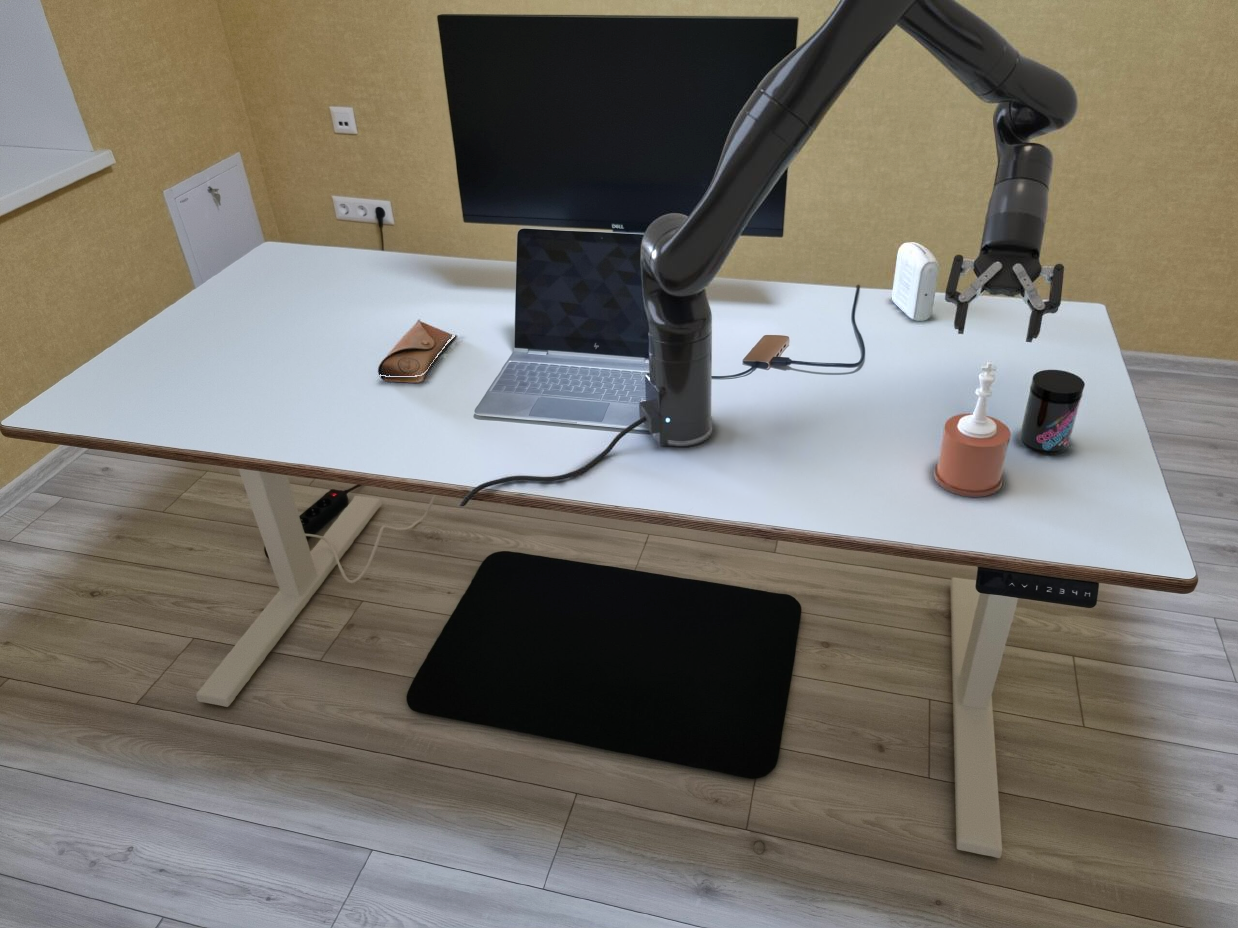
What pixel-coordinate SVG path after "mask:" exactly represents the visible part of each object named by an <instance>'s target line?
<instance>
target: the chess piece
mask: <svg viewBox="0 0 1238 928" xmlns="http://www.w3.org/2000/svg"><path fill="white" fill-rule="evenodd" d="M981 371H983V372H981V373H980V374H979V375H978V381H979V386H980V387H978V388H976V389H975V392H974V393H975V394H976V396H978V399H977V402H976V405H975V408H974V411H973V413H972V415H967V416H964V417H962V418H961V419H960V420H959V423H958V429H959V431H960V432H961V433H963V434H965V435H967V436H969V437H973V438H989V437H992V436H993V435H995V433H996V428H997V426H996V424H995V422H994V421H993V420H991V419H990V418H988V417H986V416H987V405H988V404H987V402H988V398H991V397H992V396H993V395H994V394H993V390H992V389H990V388H991V387H992V385H993V383H994V382H995V380H996V376H995V375H994V374H993V373H991V372H996V371H997V366H993V363H992V361H987V365H982V366H981Z"/></svg>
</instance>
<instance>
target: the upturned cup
mask: <svg viewBox="0 0 1238 928" xmlns="http://www.w3.org/2000/svg"><path fill="white" fill-rule="evenodd" d="M972 414H973V413H970V412H969V413H960V414H957V415H953V416H951V417H950V418H948V419H947V420H946V421H945V423H944V426H943V432H942V437H941V443H940V448H939V454H938V460H937V463H936V464H935V466H934V470H933V478H934V479H935V482H936V483H937V484H938V485H939V487H941V488H942V489H944V490H945V491H948V492H950V493H952V494H954V495H958V496H960V497H961V496H962V497H965V498H967V497H968V498H983V497H988V496H991V495H994V494H995V493H997V492H998V491H1000V489H1001V488H1002V485H1003V480H1004V475H1003V470H1004V467H1005V461H1006V457H1007V452H1008V448H1009V444H1010V440H1011V431H1010V428H1009V427H1008V426H1007V424H1005V423H1004V422H1003V421H1001V420H999V419H997V418H995V417H992V416H990V415H986V417H988V418H990V419H991V420H993V421H994V422H995V424H996V426H997V428H996V433H995V435H993V436H992V437H989V438H973V437H969V436H967V435H965V434H963V433H961V432H960V431H959V429H958V423H959V420H960V419H961V418H962V417H964V416H967V415H972Z"/></svg>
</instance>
